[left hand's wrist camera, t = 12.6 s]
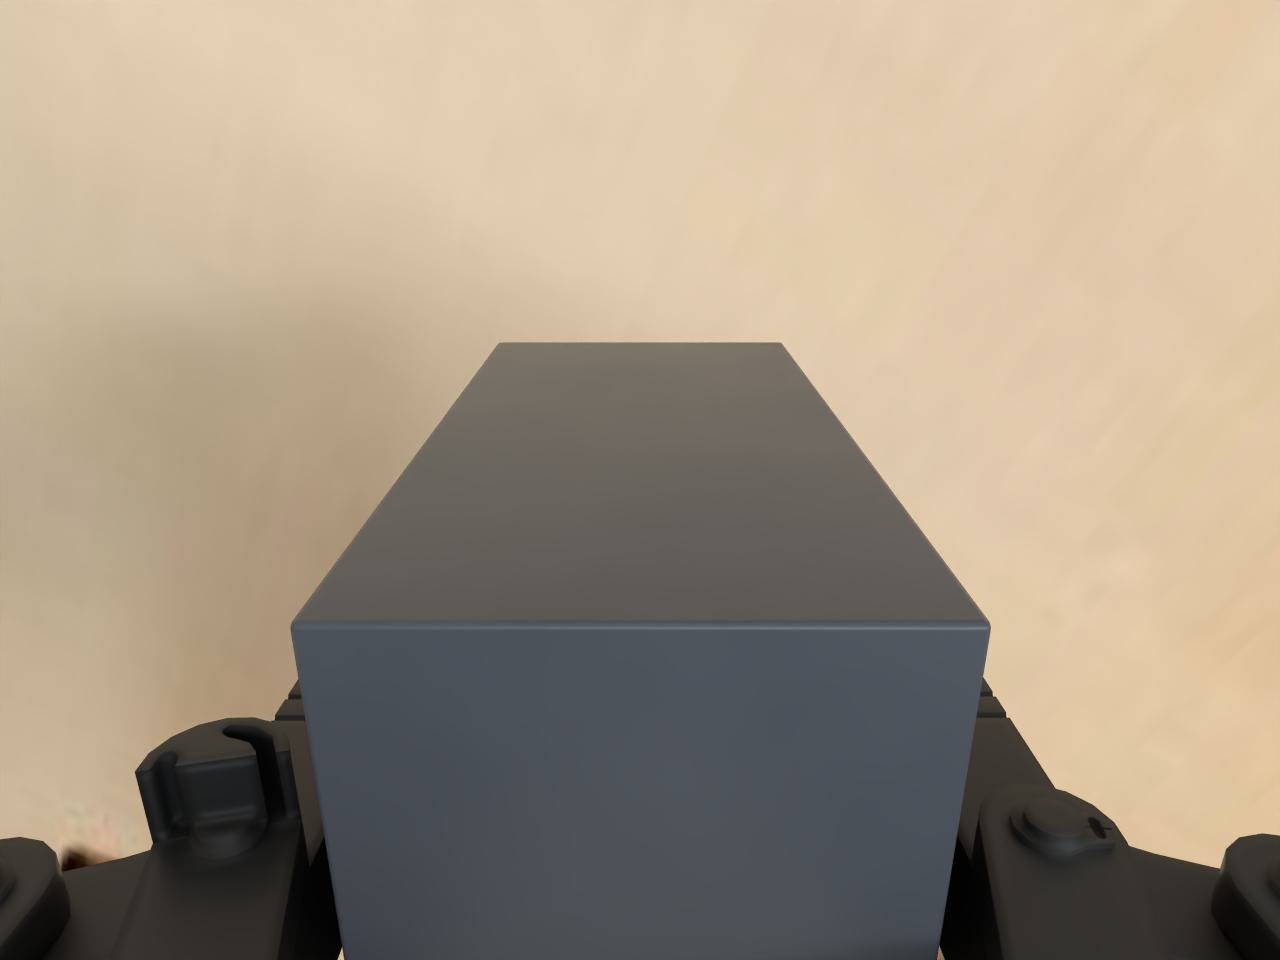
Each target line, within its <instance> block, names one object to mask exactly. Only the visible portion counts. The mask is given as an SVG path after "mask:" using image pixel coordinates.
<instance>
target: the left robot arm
mask: <svg viewBox="0 0 1280 960" xmlns="http://www.w3.org/2000/svg"><path fill="white" fill-rule="evenodd" d="M135 774H136V778H137V782H138V786H139V790H140V794H141V798H142V802H143V806H144V810H145V814H146V817H147V821H148V825H149V829H150V833H151V837H152V841H153V845H152V847H151V850H149V851H145V852H142V853H139V854H135V855H132V856H129V857H125V858H121V859H117V860H112V861H108V862H104V863H99V864H95V865H91V866H87V867H82V868H78V869H74V870H69V871H65V872H61V868H60V865H59V862H58V859H57V855H56V853H55V852H54V851H53V850H52V849H51V848H50V847H49V846H48V845H47V844H45V843H44V842H43V841H39V840H34V839H28V838H22V837H16V838H8V839H0V960H337V959H338V957H339V954H340V951H341V949H342V942H341V936H340V930H339V923H338V917H337V911H336V905H335V899H334V893H333V886H332V880H331V874H330V868H329V862H328V856H327V850H326V843H325V837H324V831H323V825H322V819H321V813H320V806H319V800H318V794H317V788H316V782H315V776H314V769H313V763H312V757H311V751H310V745H309V739H308V733H307V726H306V720H305V714H304V708H303V702H302V696H301V689H300V683H299V679H298V681H297V682H296V684H295V685H294V687H293V688H292V690H291V691H290V693H289V697H288V700H285V701H284V702H283V704H282V705H281V707H280V708H279V710H278V712H277V713H276V715H275V721H271V722H269V721H265V720H261V719H258V718H226V719H222V720H218V721H213V722H209V723H205V724H200V725H197V726H195V727H193V728H191V729H188V730H186V731H184V732H182V733H179V734H177V735H175V736H173V737H171V738H169V739H168V740H167V741H165V742H164V743H162V744H161V745H160V746H158V747H157V748H156V749H154V750H153V751H151V752H150V753H149V754H148V755H147V756H146V758H145V759H144V760H143V762H142V763H141V764H140V766H139V767H138V768H137V770H136V771H135ZM939 945H940V948H941V951H942V953H943V956H944V959H945V960H1280V836H1278V835H1270V834H1256V835H1251V836H1245V837H1239V838H1238V839H1237V840H1236V841H1235V842H1234V843H1232V844H1231V845H1230V846H1229V847H1228V848H1227V849H1226V851H1225V855H1224V858H1223V861H1222V864H1221V868H1220V869H1218V868H1214V867H1210V866H1205V865H1201V864H1197V863H1192V862H1188V861H1184V860H1179V859H1175V858H1171V857H1166V856H1162V855H1158V854H1154V853H1150V852H1147V851H1144V850H1141V849H1137V848H1134V847H1131V846H1129V845H1128V843H1127V841H1126V840H1125V838H1124V837H1123V835H1122V834H1121V832H1120V831H1119V829H1118V827H1117V826H1116V824H1115V823H1114V822H1113V821H1112V820H1111V819H1109V818H1108V817H1107V816H1106V815H1105V814H1103V813H1102V812H1101V811H1100V810H1098V809H1097V808H1096V807H1095V806H1094V805H1092V804H1090V803H1088V802H1086V801H1084V800H1082V799H1080V798H1078V797H1076V796H1074V795H1072V794H1070V793H1068V792H1066V791H1062V790H1058V789H1055V787H1054V786H1053V784H1052V782H1051V781H1050V779H1049V778H1048V776H1047V775H1046V773H1045V772H1044V770H1043V769H1042V767H1041V766H1040V764H1039V762H1038V761H1037V759H1036V758H1035V756H1034V755H1033V753H1032V752H1031V750H1030V749H1029V747H1028V745H1027V744H1026V742H1025V741H1024V739H1023V738H1022V736H1021V735H1020V733H1019V732H1018V730H1017V729H1016V727H1015V725H1014V724H1013V722H1012V721H1011V719H1010V718H1007V717H1006V712H1005V710H1004V709H1003V707H1002V705H1001V704H1000V702H999V701H998V699H997V698H996V697H993V692H992V690H991V688H990V687H989V685H988V684H987V682H986V681H985V679H984V678H983V679H982V685H981V692H980V698H979V704H978V710H977V716H976V722H975V728H974V735H973V741H972V747H971V753H970V759H969V765H968V771H967V777H966V784H965V790H964V796H963V802H962V808H961V814H960V820H959V826H958V833H957V839H956V845H955V851H954V857H953V863H952V869H951V875H950V882H949V888H948V894H947V900H946V906H945V912H944V918H943V924H942V931H941V937H940V943H939Z"/></svg>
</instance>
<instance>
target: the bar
mask: <svg viewBox="0 0 1280 960" xmlns="http://www.w3.org/2000/svg"><path fill="white" fill-rule="evenodd" d="M990 630H991V626H990V623H989V621H988V620H987V618H986V617H985V616H984V614H983V613H982V611H981V610H980V609H979V607H978V606H977V605H976V603H975V602H974V601H973V599H972V598H971V597H970V595H969V594H968V593H967V591H966V590H965V589H964V587H963V586H962V585H961V583H960V582H959V581H958V579H957V578H956V577H955V575H954V574H953V573H952V571H951V570H950V569H949V567H948V566H947V565H946V563H945V562H944V561H943V559H942V558H941V556H940V555H939V554H938V552H937V551H936V550H935V548H934V547H933V546H932V544H931V543H930V542H929V540H928V539H927V538H926V536H925V535H924V534H923V532H922V531H921V530H920V528H919V527H918V526H917V524H916V523H915V522H914V520H913V519H912V518H911V516H910V515H909V514H908V512H907V511H906V510H905V508H904V507H903V506H902V504H901V503H900V501H899V500H898V499H897V497H896V496H895V495H894V493H893V492H892V491H891V489H890V488H889V487H888V485H887V484H886V483H885V481H884V480H883V479H882V477H881V476H880V475H879V473H878V472H877V471H876V469H875V468H874V467H873V465H872V464H871V463H870V461H869V460H868V459H867V457H866V456H865V455H864V453H863V452H862V451H861V449H860V448H859V446H858V445H857V444H856V442H855V441H854V440H853V438H852V437H851V436H850V434H849V433H848V432H847V430H846V429H845V428H844V426H843V425H842V424H841V422H840V421H839V420H838V418H837V417H836V416H835V414H834V413H833V412H832V410H831V409H830V408H829V406H828V405H827V404H826V402H825V401H824V400H823V398H822V397H821V395H820V394H819V393H818V391H817V390H816V389H815V387H814V386H813V385H812V383H811V382H810V381H809V379H808V378H807V377H806V375H805V374H804V373H803V371H802V370H801V369H800V367H799V366H798V365H797V363H796V362H795V361H794V359H793V358H792V357H791V355H790V354H789V353H788V351H787V350H786V349H785V347H784V346H783V345H782V343H499V344H498V345H497V346H496V348H495V349H494V350H493V352H492V353H491V355H490V356H489V357H488V359H487V360H486V361H485V363H484V364H483V365H482V367H481V368H480V369H479V371H478V372H477V373H476V375H475V376H474V377H473V379H472V380H471V382H470V383H469V384H468V386H467V387H466V388H465V390H464V391H463V392H462V394H461V395H460V396H459V398H458V399H457V400H456V402H455V403H454V404H453V406H452V407H451V408H450V410H449V411H448V413H447V414H446V415H445V417H444V418H443V419H442V421H441V422H440V423H439V425H438V426H437V427H436V429H435V430H434V431H433V433H432V434H431V435H430V437H429V438H428V439H427V441H426V442H425V444H424V445H423V446H422V448H421V449H420V450H419V452H418V453H417V454H416V456H415V457H414V458H413V460H412V461H411V462H410V464H409V465H408V466H407V468H406V469H405V470H404V472H403V473H402V475H401V476H400V477H399V479H398V480H397V481H396V483H395V484H394V485H393V487H392V488H391V489H390V491H389V492H388V493H387V495H386V496H385V497H384V499H383V500H382V501H381V503H380V504H379V506H378V507H377V508H376V510H375V511H374V512H373V514H372V515H371V516H370V518H369V519H368V520H367V522H366V523H365V524H364V526H363V527H362V528H361V530H360V531H359V532H358V534H357V535H356V537H355V538H354V539H353V541H352V542H351V543H350V545H349V546H348V547H347V549H346V550H345V551H344V553H343V554H342V555H341V557H340V558H339V559H338V561H337V562H336V563H335V565H334V566H333V568H332V569H331V570H330V572H329V573H328V574H327V576H326V577H325V578H324V580H323V581H322V582H321V584H320V585H319V586H318V588H317V589H316V590H315V592H314V593H313V594H312V596H311V597H310V599H309V600H308V601H307V603H306V604H305V605H304V607H303V608H302V609H301V611H300V612H299V613H298V615H297V616H296V617H295V619H294V620H293V621H292V624H291V634H292V640H293V646H294V652H295V659H296V665H297V671H298V677H299V683H300V689H301V696H302V702H303V708H304V714H305V720H306V726H307V733H308V739H309V745H310V751H311V757H312V763H313V769H314V776H315V782H316V788H317V794H318V800H319V806H320V813H321V819H322V825H323V831H324V837H325V843H326V850H327V856H328V862H329V868H330V874H331V880H332V886H333V893H334V899H335V905H336V911H337V917H338V923H339V930H340V936H341V942H342V948H343V954H344V960H937V955H938V949H939V943H940V937H941V931H942V924H943V918H944V912H945V906H946V900H947V894H948V888H949V882H950V875H951V869H952V863H953V857H954V851H955V845H956V839H957V833H958V826H959V820H960V814H961V808H962V802H963V796H964V790H965V784H966V777H967V771H968V765H969V759H970V753H971V747H972V741H973V735H974V728H975V722H976V716H977V710H978V704H979V698H980V692H981V685H982V679H983V673H984V667H985V661H986V655H987V649H988V643H989V636H990Z"/></svg>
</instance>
